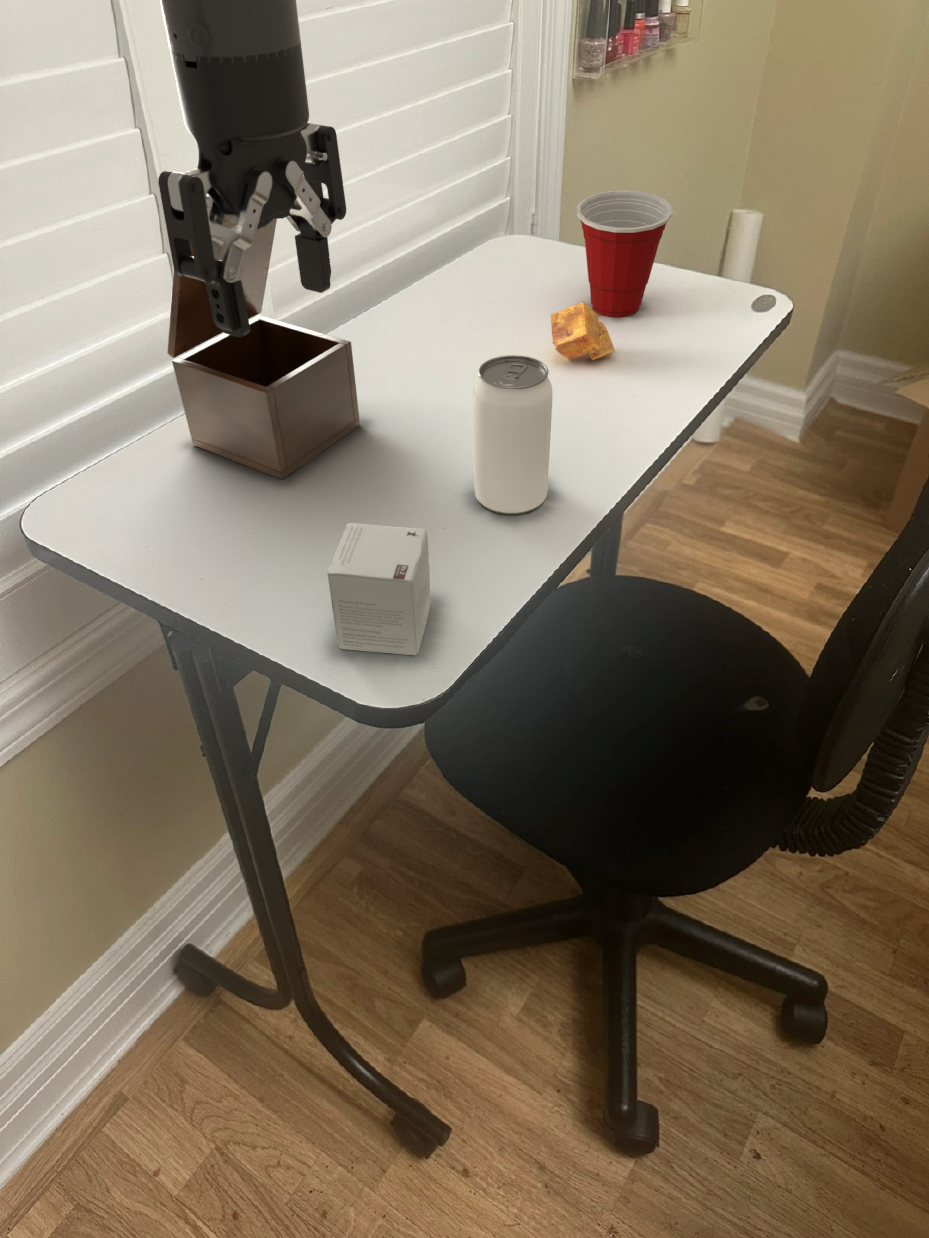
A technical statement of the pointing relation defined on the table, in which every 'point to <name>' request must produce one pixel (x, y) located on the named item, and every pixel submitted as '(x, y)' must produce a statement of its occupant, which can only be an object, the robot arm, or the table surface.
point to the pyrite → (580, 333)
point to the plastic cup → (621, 246)
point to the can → (512, 433)
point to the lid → (192, 300)
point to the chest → (269, 395)
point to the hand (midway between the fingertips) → (277, 310)
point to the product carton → (381, 588)
